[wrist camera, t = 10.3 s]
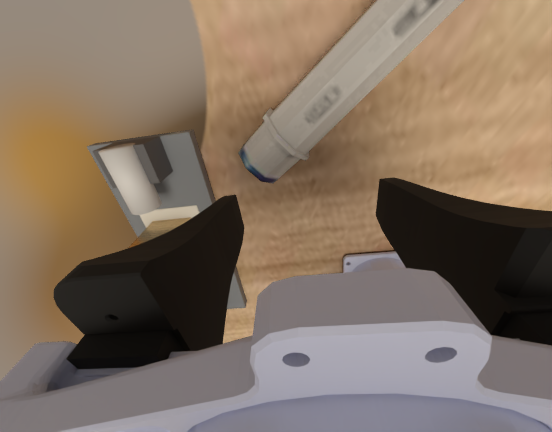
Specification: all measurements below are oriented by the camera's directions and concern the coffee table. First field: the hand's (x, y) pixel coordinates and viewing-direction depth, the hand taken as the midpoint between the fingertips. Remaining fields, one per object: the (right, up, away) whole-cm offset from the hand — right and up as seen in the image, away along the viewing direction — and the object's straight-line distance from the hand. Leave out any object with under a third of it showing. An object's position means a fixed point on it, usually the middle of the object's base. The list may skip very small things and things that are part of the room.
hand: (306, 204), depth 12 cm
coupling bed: (-11, -3, +13) cm, 18 cm away
